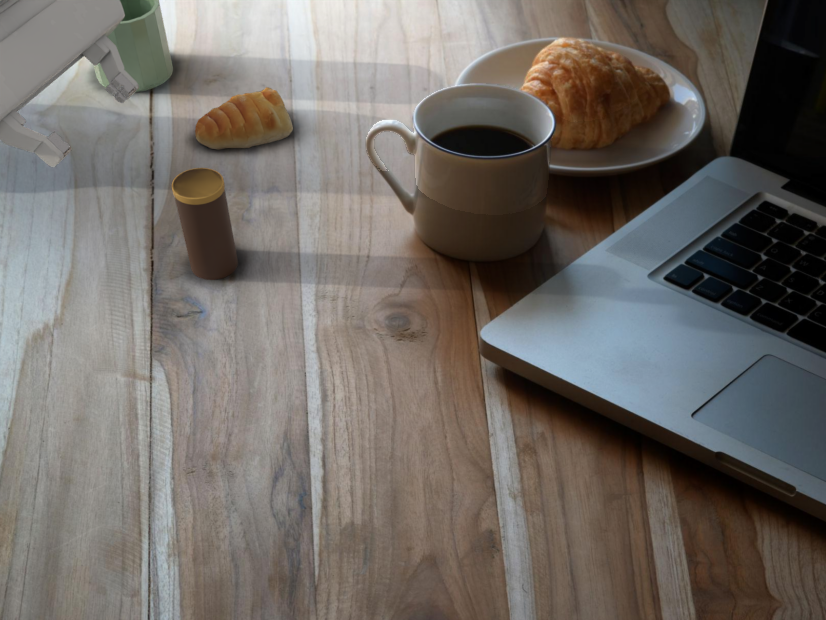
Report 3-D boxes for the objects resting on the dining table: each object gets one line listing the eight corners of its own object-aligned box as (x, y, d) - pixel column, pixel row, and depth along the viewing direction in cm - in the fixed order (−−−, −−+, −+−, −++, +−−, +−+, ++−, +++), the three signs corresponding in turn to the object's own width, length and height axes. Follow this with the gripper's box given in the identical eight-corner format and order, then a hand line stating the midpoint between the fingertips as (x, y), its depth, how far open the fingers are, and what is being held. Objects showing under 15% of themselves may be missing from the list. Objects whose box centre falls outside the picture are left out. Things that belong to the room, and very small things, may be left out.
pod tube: (184, 280, 80) (164, 196, 73) (198, 248, 83) (180, 165, 76) (231, 284, 80) (215, 201, 73) (244, 253, 82) (229, 169, 76)
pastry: (211, 165, 91) (204, 131, 88) (186, 130, 95) (179, 97, 92) (299, 138, 94) (295, 105, 92) (271, 106, 98) (267, 73, 96)
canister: (86, 90, 99) (66, 20, 93) (113, 52, 105) (95, -17, 99) (160, 97, 99) (144, 27, 93) (182, 58, 104) (169, -11, 98)
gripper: (21, -48, 78) (150, 79, 83) (-163, 74, 64) (3, 217, 69) (52, -95, 73) (185, 43, 79) (-139, 26, 60) (36, 181, 65)
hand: (98, 126), depth 74 cm, fingers open, 8 cm apart
